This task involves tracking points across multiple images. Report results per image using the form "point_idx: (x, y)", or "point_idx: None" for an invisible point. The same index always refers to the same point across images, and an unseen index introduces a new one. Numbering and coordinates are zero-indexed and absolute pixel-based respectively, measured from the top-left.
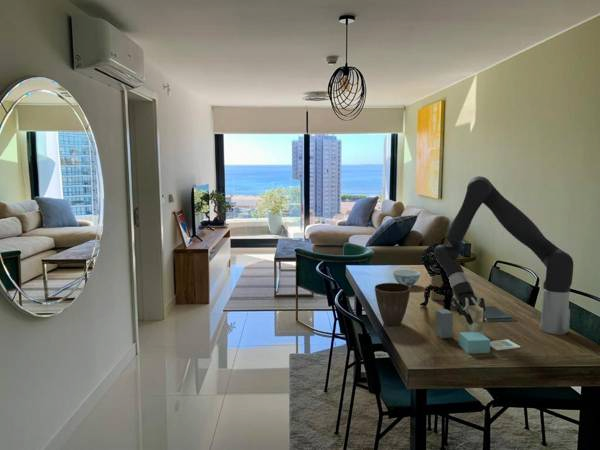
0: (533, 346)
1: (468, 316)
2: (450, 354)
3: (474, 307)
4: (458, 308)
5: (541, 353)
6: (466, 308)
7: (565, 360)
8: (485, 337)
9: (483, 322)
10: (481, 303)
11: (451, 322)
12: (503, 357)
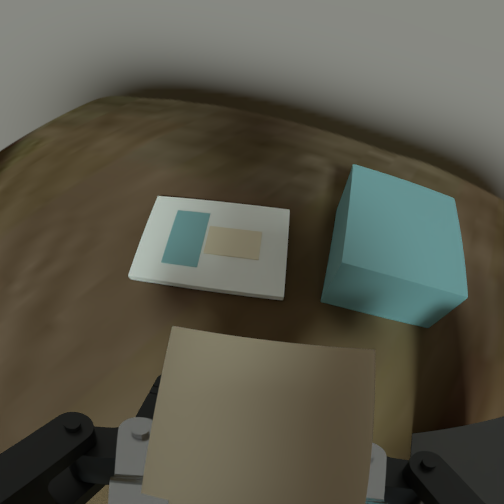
0: (98, 196)
1: None
2: (484, 254)
3: (278, 437)
4: (469, 500)
5: (141, 150)
6: (372, 499)
7: (135, 112)
8: (359, 190)
9: None
10: (21, 495)
11: (480, 422)
12: (309, 167)
